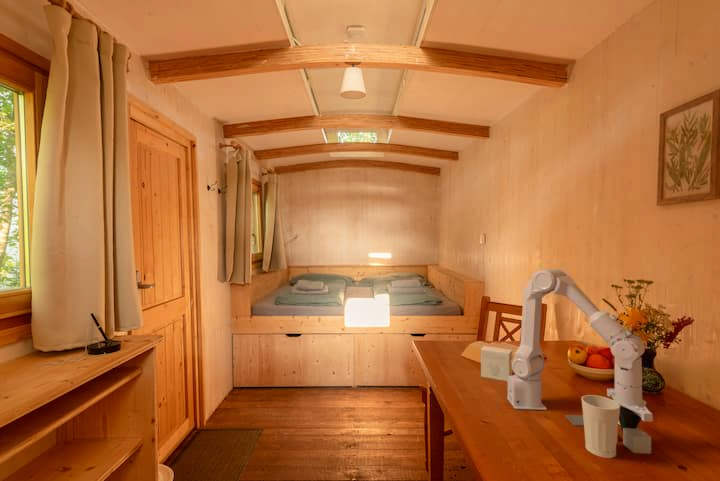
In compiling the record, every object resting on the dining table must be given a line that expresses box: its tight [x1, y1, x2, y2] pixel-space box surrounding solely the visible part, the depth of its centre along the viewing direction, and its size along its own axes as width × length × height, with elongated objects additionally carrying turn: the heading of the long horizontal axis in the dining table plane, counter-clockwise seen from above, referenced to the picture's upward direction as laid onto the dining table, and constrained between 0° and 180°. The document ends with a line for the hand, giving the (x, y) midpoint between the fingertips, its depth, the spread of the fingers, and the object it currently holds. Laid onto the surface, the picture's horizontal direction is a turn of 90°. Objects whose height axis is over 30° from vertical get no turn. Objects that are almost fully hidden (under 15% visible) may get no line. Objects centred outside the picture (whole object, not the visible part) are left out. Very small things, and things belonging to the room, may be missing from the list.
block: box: [622, 428, 652, 455], centre depth 90 cm, size 4×4×4 cm
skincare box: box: [480, 345, 513, 383], centre depth 137 cm, size 10×6×10 cm, turn 58°
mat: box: [564, 414, 584, 427], centre depth 104 cm, size 6×6×1 cm
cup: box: [580, 394, 620, 459], centre depth 89 cm, size 8×8×12 cm
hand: (628, 435), depth 93 cm, fingers closed
